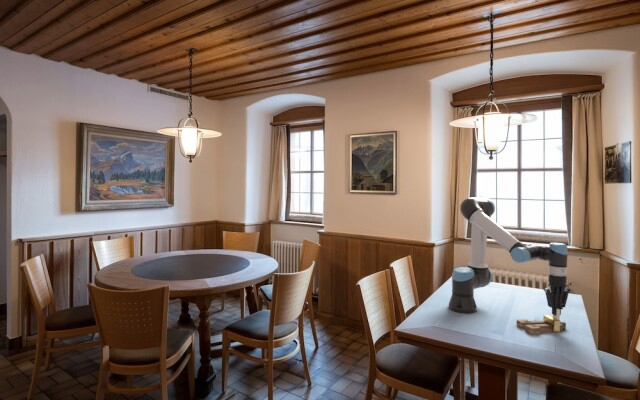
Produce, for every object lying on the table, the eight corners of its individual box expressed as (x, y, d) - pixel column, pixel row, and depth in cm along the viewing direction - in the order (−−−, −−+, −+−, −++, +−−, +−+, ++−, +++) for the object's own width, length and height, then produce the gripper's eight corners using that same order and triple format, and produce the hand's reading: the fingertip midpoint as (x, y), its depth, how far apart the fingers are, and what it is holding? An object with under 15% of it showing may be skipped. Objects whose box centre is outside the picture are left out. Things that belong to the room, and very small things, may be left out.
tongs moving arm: (516, 324, 183) (516, 319, 182) (558, 324, 183) (559, 319, 183) (523, 329, 176) (523, 324, 176) (567, 328, 177) (567, 323, 177)
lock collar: (543, 325, 180) (543, 315, 180) (548, 325, 181) (548, 315, 181) (554, 331, 173) (554, 321, 173) (560, 331, 173) (560, 320, 173)
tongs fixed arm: (524, 330, 176) (525, 324, 175) (559, 328, 178) (559, 323, 178) (530, 334, 171) (531, 328, 171) (565, 332, 173) (566, 326, 173)
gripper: (551, 276, 171) (549, 324, 172) (575, 276, 173) (574, 323, 174) (539, 273, 179) (538, 319, 180) (563, 272, 180) (561, 317, 181)
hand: (556, 321), depth 177 cm, fingers closed
